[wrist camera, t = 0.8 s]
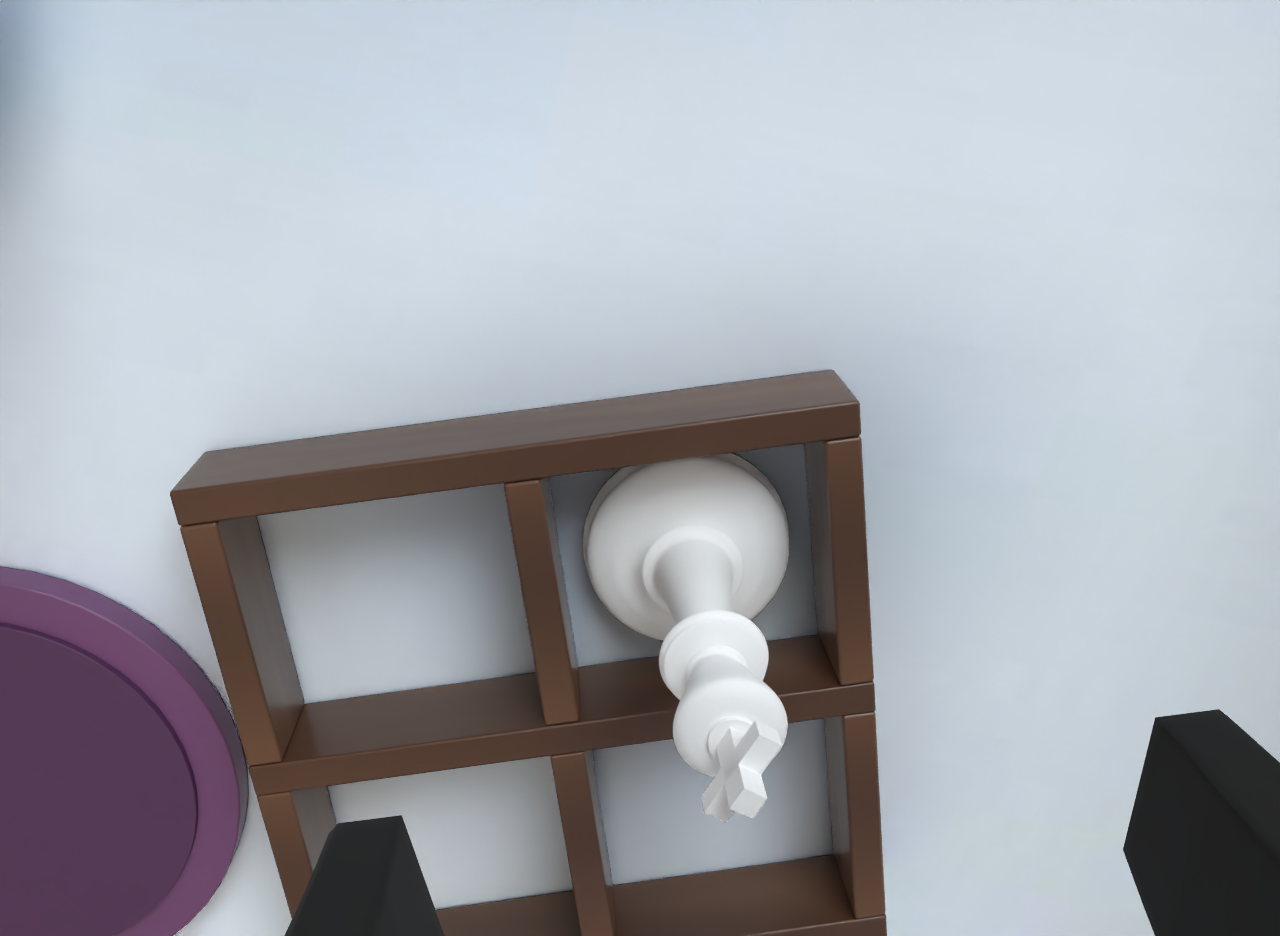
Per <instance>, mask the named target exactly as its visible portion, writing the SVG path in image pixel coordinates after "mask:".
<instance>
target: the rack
mask: <svg viewBox="0 0 1280 936" xmlns="http://www.w3.org/2000/svg"><path fill="white" fill-rule="evenodd" d="M860 434H861V421H860V403H859V401H858V400H857V399H856V397H855V396H854V395H853V394H852V392H851V391H850V390H849V389H848V387H847V386H846V385H845V384H844V382H843V381H842V380H841V379H840V378H839V376H838V375H837V374H836V373H835V371H834V370H824V371H817V372H809V373H801V374H794V375H786V376H779V377H771V378H763V379H756V380H748V381H741V382H733V383H725V384H718V385H710V386H703V387H695V388H687V389H680V390H672V391H665V392H657V393H649V394H642V395H634V396H627V397H619V398H611V399H604V400H596V401H589V402H581V403H573V404H566V405H558V406H551V407H543V408H535V409H528V410H520V411H513V412H505V413H497V414H490V415H482V416H475V417H467V418H460V419H452V420H444V421H437V422H429V423H422V424H414V425H406V426H399V427H391V428H384V429H376V430H368V431H361V432H353V433H346V434H338V435H330V436H323V437H315V438H308V439H300V440H292V441H285V442H277V443H270V444H262V445H254V446H247V447H239V448H232V449H224V450H216V451H209V452H205V453H204V454H203V455H202V456H201V457H200V458H199V459H198V461H197V462H196V463H195V464H194V465H193V466H192V467H191V469H190V470H189V471H188V472H187V473H186V474H185V475H184V477H183V478H182V479H181V480H180V481H179V482H178V484H177V485H176V486H175V487H174V488H173V489H172V490H171V492H170V496H171V500H172V503H173V507H174V510H175V514H176V517H177V521H178V524H179V525H181V528H180V530H181V534H182V537H183V541H184V544H185V548H186V551H187V555H188V558H189V562H190V565H191V569H192V572H193V576H194V579H195V583H196V586H197V589H198V593H199V596H200V600H201V603H202V607H203V610H204V614H205V617H206V621H207V624H208V628H209V631H210V635H211V638H212V642H213V645H214V648H215V652H216V655H217V659H218V662H219V666H220V669H221V673H222V676H223V680H224V683H225V687H226V690H227V694H228V697H229V701H230V704H231V707H232V711H233V714H234V718H235V721H236V725H237V728H238V732H239V735H240V739H241V742H242V746H243V749H244V753H245V756H246V760H247V763H248V765H250V766H249V772H250V775H251V779H252V782H253V786H254V789H255V792H256V795H258V796H257V799H258V802H259V806H260V809H261V813H262V816H263V820H264V823H265V827H266V830H267V834H268V837H269V841H270V844H271V848H272V851H273V854H274V858H275V861H276V865H277V868H278V872H279V875H280V879H281V882H282V886H283V889H284V893H285V896H286V900H287V903H288V906H289V910H290V913H291V917H292V919H293V916H294V914H295V912H296V910H297V907H298V905H299V903H300V901H301V898H302V896H303V894H304V892H305V889H306V887H307V885H308V882H309V880H310V878H311V875H312V873H313V871H314V868H315V866H316V864H317V861H318V859H319V856H320V854H321V851H322V849H323V846H324V844H325V842H326V839H327V837H328V834H329V832H330V831H331V830H332V829H333V828H334V827H335V826H336V821H335V817H334V813H333V809H332V805H331V802H330V798H329V794H328V790H327V786H331V785H339V784H346V783H353V782H361V781H368V780H375V779H383V778H390V777H397V776H405V775H412V774H419V773H426V772H434V771H441V770H448V769H456V768H463V767H470V766H478V765H485V764H492V763H500V762H507V761H514V760H522V759H529V758H536V757H544V756H550V758H551V764H552V769H553V775H554V781H555V787H556V792H557V798H558V804H559V810H560V815H561V821H562V827H563V833H564V838H565V844H566V850H567V856H568V861H569V867H570V873H571V879H572V884H573V890H574V891H569V892H562V893H555V894H547V895H540V896H533V897H526V898H519V899H511V900H504V901H497V902H490V903H482V904H475V905H468V906H461V907H453V908H446V909H439V910H435V911H436V914H437V916H438V919H439V922H440V925H441V928H442V930H443V933H444V936H887V927H886V915H885V893H884V873H883V854H882V834H881V815H880V795H879V776H878V756H877V737H876V717H875V712H874V711H875V691H874V682H873V678H874V676H873V657H872V637H871V617H870V598H869V578H868V559H867V539H866V520H865V500H864V481H863V461H862V442H861V438H860V436H859V435H860ZM802 443H805V455H806V469H807V483H808V497H809V512H810V526H811V540H812V554H813V569H814V583H815V597H816V611H817V625H818V634H819V635H813V636H806V637H798V638H791V639H783V640H776V641H769V642H766V643H767V646H768V653H769V660H768V666H767V670H766V673H765V676H764V679H763V682H764V683H765V684H766V685H768V686H769V687H770V688H771V689H772V690H773V691H774V692H775V694H776V695H777V696H778V697H779V699H780V701H781V702H782V704H783V706H784V709H785V711H786V715H787V721H788V723H793V722H800V721H808V720H815V719H822V718H824V724H825V738H826V752H827V767H828V781H829V795H830V809H831V824H832V838H833V852H834V855H829V856H822V857H815V858H808V859H800V860H793V861H786V862H779V863H772V864H764V865H757V866H750V867H743V868H735V869H728V870H721V871H714V872H706V873H699V874H692V875H685V876H678V877H670V878H663V879H656V880H649V881H641V882H634V883H627V884H620V885H613V882H612V876H611V870H610V863H609V857H608V851H607V844H606V838H605V832H604V825H603V819H602V813H601V806H600V800H599V794H598V787H597V781H596V775H595V768H594V762H593V756H592V750H595V749H602V748H610V747H617V746H624V745H632V744H639V743H646V742H654V741H661V740H668V739H674V738H673V721H674V716H675V713H676V710H677V707H678V704H679V702H680V700H679V699H678V698H677V697H676V696H675V695H674V694H673V693H672V692H671V691H670V690H669V688H668V687H667V686H666V684H665V683H664V681H663V679H662V676H661V673H660V669H659V656H658V657H650V658H643V659H636V660H628V661H621V662H613V663H606V664H599V665H591V666H584V667H578V661H577V655H576V649H575V642H574V636H573V630H572V623H571V617H570V611H569V604H568V598H567V592H566V585H565V579H564V573H563V566H562V560H561V554H560V547H559V541H558V535H557V528H556V522H555V516H554V509H553V503H552V497H551V490H550V484H549V478H548V477H553V476H561V475H568V474H576V473H583V472H591V471H598V470H606V469H613V468H621V467H628V466H636V465H644V464H651V463H659V462H666V461H674V460H681V459H689V458H696V457H704V456H711V455H719V454H727V453H734V452H742V451H749V450H757V449H764V448H772V447H779V446H787V445H794V444H802ZM500 483H504V492H505V498H506V504H507V510H508V515H509V521H510V527H511V533H512V538H513V544H514V550H515V556H516V561H517V567H518V573H519V579H520V584H521V590H522V596H523V602H524V607H525V613H526V619H527V625H528V630H529V636H530V642H531V648H532V653H533V659H534V665H535V671H536V673H532V674H525V675H517V676H510V677H502V678H495V679H488V680H480V681H473V682H465V683H458V684H451V685H443V686H436V687H429V688H421V689H414V690H406V691H399V692H392V693H384V694H377V695H369V696H362V697H355V698H347V699H340V700H332V701H325V702H318V703H310V704H304V699H303V695H302V691H301V687H300V684H299V680H298V676H297V672H296V668H295V664H294V661H293V657H292V653H291V649H290V645H289V641H288V638H287V634H286V630H285V626H284V622H283V618H282V615H281V611H280V607H279V603H278V599H277V595H276V592H275V588H274V584H273V580H272V576H271V572H270V569H269V565H268V561H267V557H266V553H265V549H264V546H263V542H262V538H261V534H260V530H259V526H258V523H257V519H256V516H259V515H266V514H274V513H281V512H289V511H297V510H304V509H312V508H319V507H327V506H334V505H342V504H349V503H357V502H364V501H372V500H380V499H387V498H395V497H402V496H410V495H417V494H425V493H432V492H440V491H447V490H455V489H463V488H470V487H478V486H485V485H493V484H500Z"/></svg>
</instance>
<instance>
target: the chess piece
mask: <svg viewBox="0 0 1280 936" xmlns="http://www.w3.org/2000/svg"><path fill="white" fill-rule="evenodd" d="M789 550H790V541H789V530H788V521H787V516H786V513H785V509H784V506H783V504H782V501H781V499H780V497H779V495H778V493H777V492H776V490H775V488H774V487H773V485H772V484H771V483H770V481H769V480H768V479H767V478H766V477H765V476H764V475H763V474H762V473H761V472H760V471H759V470H758V469H757V468H756V467H754V466H753V465H752V464H750V463H749V462H747V461H746V460H744V459H742V458H741V457H739V456H737V455H734V454H732V453H727V454H719V455H711V456H704V457H696V458H689V459H681V460H674V461H666V462H659V463H651V464H644V465H636V466H628V467H622V468H621V469H620V470H618V471H617V472H616V473H615V474H614V475H613V476H612V477H611V478H610V479H609V480H608V481H607V482H606V483H605V485H604V486H603V487H602V488H601V490H600V491H599V493H598V494H597V496H596V497H595V499H594V501H593V503H592V505H591V507H590V510H589V512H588V515H587V518H586V522H585V526H584V532H583V554H584V561H585V565H586V568H587V572H588V574H589V577H590V579H591V582H592V585H593V587H594V589H595V591H596V593H597V595H598V597H599V598H600V600H601V601H602V603H603V604H604V605H605V607H606V608H607V609H608V610H609V611H610V612H611V613H612V614H613V615H614V616H615V617H616V618H617V619H618V620H619V621H621V622H622V623H623V624H625V625H626V626H628V627H629V628H631V629H633V630H634V631H636V632H638V633H641V634H643V635H645V636H648V637H651V638H654V639H658V640H662V641H663V643H662V646H661V649H660V653H659V669H660V673H661V676H662V679H663V681H664V683H665V684H666V686H667V687H668V688H669V690H670V691H671V692H672V693H673V694H674V695H675V696H676V697H677V698H678V699H679V700H680V702H679V704H678V707H677V710H676V713H675V716H674V721H673V738H674V742H675V746H676V748H677V750H678V752H679V754H680V756H681V757H682V758H683V760H684V761H685V762H686V763H687V764H688V765H689V766H691V767H692V768H693V769H695V770H696V771H698V772H700V773H702V774H705V775H707V776H711V777H714V779H713V780H712V782H711V783H710V784H709V786H708V787H707V789H706V790H705V792H704V793H703V794H702V796H701V797H702V802H703V808H704V813H707V814H709V815H711V816H713V817H715V818H718V819H720V820H722V821H724V822H726V823H727V821H728V820H729V819H730V817H731V816H732V815H733V813H734V812H735V811H736V812H738V813H740V814H743V815H745V816H747V817H749V818H751V819H753V818H754V817H755V815H756V814H757V813H758V811H759V810H760V809H761V807H762V806H763V805H764V803H765V802H766V800H767V795H766V791H765V788H764V784H763V780H762V776H761V774H762V773H763V772H764V770H765V769H766V767H767V766H768V765H769V763H770V762H771V761H772V760H773V759H774V758H775V757H776V756H777V755H778V753H779V752H780V750H781V748H782V746H783V744H784V742H785V739H786V735H787V729H788V721H787V715H786V711H785V709H784V706H783V704H782V702H781V701H780V699H779V697H778V696H777V695H776V694H775V692H774V691H773V690H772V689H771V688H770V687H769V686H768V685H766V684H765V683H764V682H763V679H764V676H765V673H766V670H767V666H768V660H769V653H768V646H767V643H766V640H765V637H764V636H763V634H762V632H761V631H760V629H759V628H758V627H757V626H756V625H755V624H754V623H753V622H752V621H751V620H752V619H753V618H754V617H756V616H757V615H758V614H759V613H760V612H761V611H762V610H763V609H764V608H765V607H766V606H767V604H768V603H769V602H770V601H771V599H772V598H773V596H774V595H775V593H776V592H777V590H778V588H779V586H780V584H781V582H782V580H783V578H784V575H785V572H786V569H787V564H788V559H789Z"/></svg>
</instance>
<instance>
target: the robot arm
mask: <svg viewBox="0 0 1280 936" xmlns="http://www.w3.org/2000/svg"><path fill="white" fill-rule="evenodd" d="M1123 851H1124V853H1125V856H1126V859H1127V862H1128V864H1129V867H1130V870H1131V873H1132V875H1133V878H1134V881H1135V884H1136V886H1137V889H1138V892H1139V895H1140V897H1141V900H1142V903H1143V906H1144V908H1145V911H1146V913H1147V916H1148V918H1149V921H1150V924H1151V926H1152V929H1153V931H1154V934H1155V936H1280V763H1279V762H1278V761H1277V760H1276V759H1275V758H1274V757H1273V756H1272V755H1270V754H1269V753H1268V752H1267V751H1266V750H1265V749H1264V748H1263V747H1262V746H1260V745H1259V744H1258V743H1257V742H1256V741H1255V740H1254V739H1253V738H1251V737H1250V736H1249V735H1248V734H1247V733H1246V732H1245V731H1244V730H1242V729H1241V728H1240V727H1239V726H1238V725H1237V724H1236V723H1235V722H1233V721H1232V720H1231V719H1230V718H1229V717H1228V716H1227V715H1225V714H1224V713H1223V712H1222V711H1220V710H1219V709H1218V710H1210V711H1203V712H1195V713H1187V714H1179V715H1172V716H1164V717H1156V718H1155V721H1154V725H1153V729H1152V733H1151V738H1150V742H1149V746H1148V750H1147V754H1146V758H1145V762H1144V766H1143V770H1142V774H1141V778H1140V783H1139V787H1138V791H1137V795H1136V799H1135V803H1134V807H1133V811H1132V815H1131V819H1130V823H1129V827H1128V832H1127V836H1126V840H1125V844H1124V848H1123ZM285 936H444V933H443V930H442V928H441V925H440V922H439V919H438V916H437V914H436V911H435V908H434V905H433V902H432V900H431V897H430V894H429V891H428V888H427V885H426V883H425V880H424V877H423V874H422V871H421V869H420V866H419V863H418V860H417V857H416V855H415V852H414V849H413V846H412V843H411V840H410V838H409V835H408V832H407V829H406V826H405V824H404V821H403V818H402V815H401V816H393V817H385V818H377V819H370V820H362V821H354V822H347V823H339V824H337V825H336V826H335V827H334V828H333V829H332V830H331V831H330V832H329V834H328V837H327V839H326V842H325V844H324V846H323V849H322V851H321V854H320V856H319V859H318V861H317V864H316V866H315V868H314V871H313V873H312V875H311V878H310V880H309V882H308V885H307V887H306V889H305V892H304V894H303V896H302V898H301V901H300V903H299V905H298V907H297V910H296V912H295V914H294V916H293V919H292V921H291V923H290V925H289V927H288V930H287V932H286V934H285Z"/></svg>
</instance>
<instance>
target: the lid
mask: <svg viewBox="0 0 1280 936" xmlns="http://www.w3.org/2000/svg"><path fill="white" fill-rule="evenodd" d="M247 800H248V784H247V769H246V764H245V759H244V754H243V750H242V745H241V742H240V739H239V736H238V734H237V731H236V728H235V726H234V723H233V720H232V718H231V716H230V714H229V712H228V710H227V709H226V707H225V705H224V703H223V701H222V699H221V697H220V696H219V694H218V692H217V691H216V690H215V688H214V687H213V686H212V684H211V683H210V681H209V680H208V679H207V677H206V676H205V674H204V673H203V672H202V670H201V669H200V668H199V667H198V666H197V665H196V664H195V663H194V662H193V661H192V660H191V658H190V657H189V656H188V655H187V654H186V653H185V652H184V651H183V650H182V649H181V648H180V647H179V646H178V645H177V644H176V643H174V642H173V641H172V640H171V639H170V638H168V637H167V636H166V635H165V634H164V633H162V632H161V631H160V630H159V629H158V628H157V627H155V626H154V625H152V624H151V623H149V622H148V621H146V620H145V619H143V618H142V617H140V616H139V615H137V614H136V613H134V612H133V611H131V610H130V609H128V608H126V607H124V606H122V605H120V604H118V603H117V602H115V601H113V600H111V599H109V598H107V597H105V596H103V595H101V594H99V593H97V592H94V591H92V590H89V589H86V588H84V587H81V586H79V585H76V584H74V583H71V582H68V581H66V580H62V579H58V578H54V577H51V576H47V575H43V574H39V573H36V572H32V571H25V570H19V569H12V568H6V567H0V936H173V935H174V934H176V933H177V932H178V931H179V930H181V929H182V928H183V927H184V926H186V925H187V924H188V923H189V922H190V921H191V920H192V919H193V918H194V917H195V916H196V915H197V914H198V913H199V912H200V911H201V910H202V909H203V907H204V906H205V905H206V904H207V903H208V902H209V900H210V899H211V897H212V896H213V894H214V893H215V891H216V890H217V888H218V887H219V885H220V884H221V882H222V880H223V878H224V876H225V874H226V872H227V869H228V867H229V865H230V863H231V861H232V858H233V856H234V853H235V851H236V849H237V846H238V844H239V840H240V837H241V833H242V830H243V826H244V823H245V818H246V809H247Z"/></svg>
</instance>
